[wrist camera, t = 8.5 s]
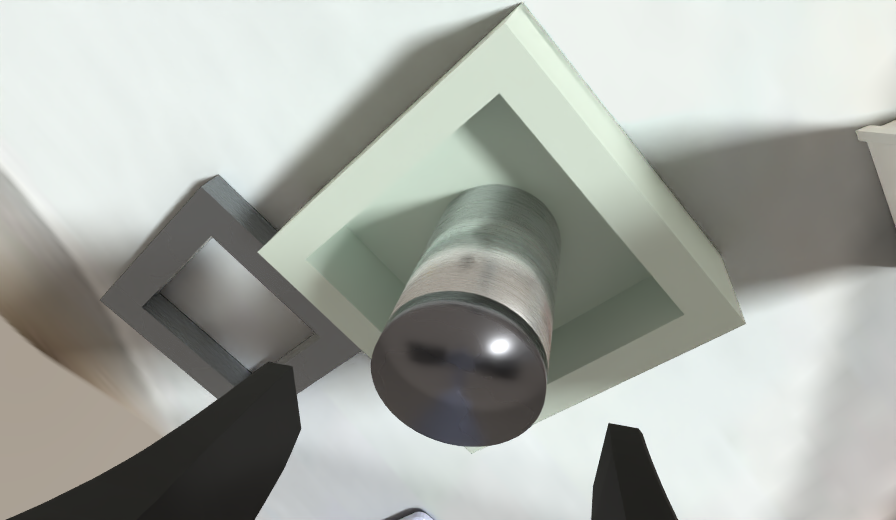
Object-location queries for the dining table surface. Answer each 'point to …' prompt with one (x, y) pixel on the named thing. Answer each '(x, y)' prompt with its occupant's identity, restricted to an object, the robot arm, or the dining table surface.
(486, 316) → the shiny metal cylinder
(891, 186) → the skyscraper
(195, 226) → the grey square frame
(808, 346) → the dining table surface
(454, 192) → the bin
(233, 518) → the robot arm
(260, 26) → the dining table surface
